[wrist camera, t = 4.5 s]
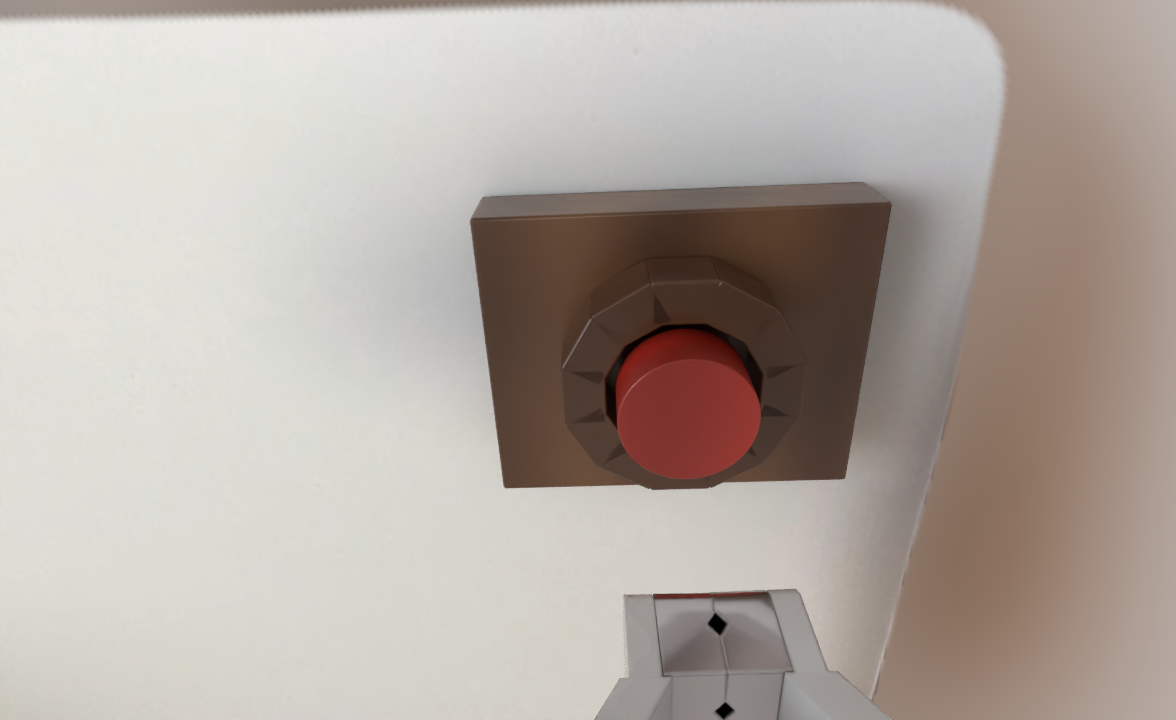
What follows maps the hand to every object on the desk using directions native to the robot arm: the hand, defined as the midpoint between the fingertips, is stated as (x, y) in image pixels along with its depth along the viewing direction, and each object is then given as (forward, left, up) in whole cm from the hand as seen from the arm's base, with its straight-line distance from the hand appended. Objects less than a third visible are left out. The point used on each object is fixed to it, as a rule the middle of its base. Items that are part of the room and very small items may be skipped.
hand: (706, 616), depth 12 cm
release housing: (0, 0, -11) cm, 11 cm away
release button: (0, 0, -8) cm, 8 cm away
